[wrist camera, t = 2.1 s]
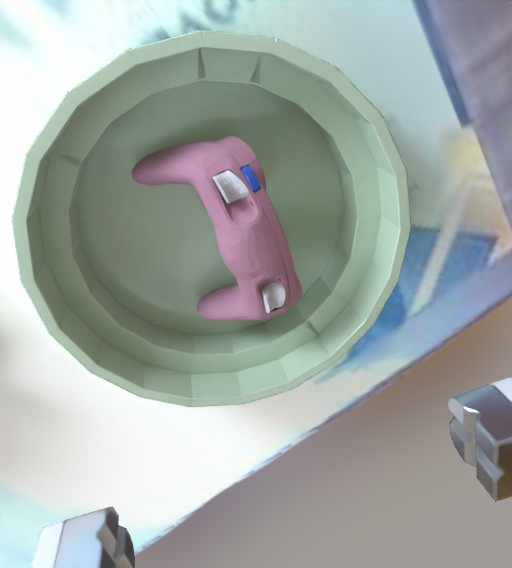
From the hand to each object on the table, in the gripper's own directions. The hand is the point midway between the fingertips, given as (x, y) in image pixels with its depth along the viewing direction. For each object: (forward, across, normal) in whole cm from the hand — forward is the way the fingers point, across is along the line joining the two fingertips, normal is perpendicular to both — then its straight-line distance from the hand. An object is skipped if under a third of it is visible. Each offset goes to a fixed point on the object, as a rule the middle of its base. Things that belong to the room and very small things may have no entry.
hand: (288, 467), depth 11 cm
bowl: (+18, 0, 0) cm, 18 cm away
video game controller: (+17, 0, 0) cm, 17 cm away
